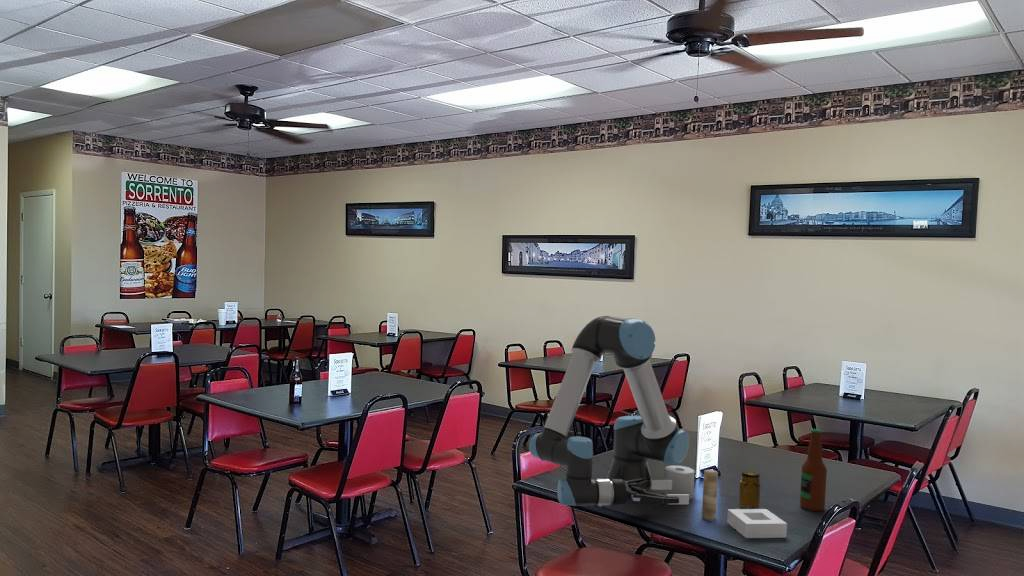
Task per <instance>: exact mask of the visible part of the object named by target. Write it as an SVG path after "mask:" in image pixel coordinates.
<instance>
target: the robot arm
mask: <svg viewBox="0 0 1024 576" xmlns="http://www.w3.org/2000/svg"><path fill="white" fill-rule="evenodd" d="M655 342H656V336H655V332H654V330H653V328H652V326H651V325H650V324H649V323H648V322H646V321H644V320H641V319H637V318H634V317H633V318H626V317H625V318H624V317H616V316H610V315H603V316H602V315H601V316H598V317H596V318H593V319H592V320H590V321H589V322H588V323H587V324H586V325H585V326H583V328H582V329H581V331H580V332H579V334H578V335H577V336H576V338H575V340H574V342H573V344H572V347H571V349H570V350H571V353H572V355H571V358H570V361H569V363H568V366H567V368H566V371H565V374H564V376H563V378H562V380H561V384H560V386H559V389H558V391H557V394H556V396H555V399H554V400H553V401H554V402H553V404H552V406H551V408H550V412H548V413H549V414H548V417H547V419H546V421H545V424H544V426H543V428H542V431H541V432H539V433H535V434H534V435H533V436H532V437H531V439H530V440H529V442H528V443H529V444H528V450H529V453H530V454H531V455H532V456H533V457H535V458H537V459H539V460H541V461H543V462H544V461H545V462H548V463H552V464H555V465H557V466H561V467H563V468H565V477H564V478H560V479H559V480H558V482H557V487H556V488H557V489H556V492H557V501H558V502H559V504H561V505H562V506H573V507H576V506H579V507H580V506H581V507H582V506H598V507H599V508H602V507H603V506H610V505H612V506H624V505H625V504H626V502H627V501H628V500H630V501H632V504H634V505H637V504H639V505H646V506H654V507H662V508H665V509H667V508H669V507H668V505H689V504H690V499H689V494H667V496H666V495H664V494H661V493H655V492H650V491H647V490H649V489H650V490H654V491H655V490H659V491H660V490H663V491H664V490H672V480H664V479H653V478H652V474H651V471H650V470H651V469H650V467H649V463H648V459H649V460H652V461H655V462H659V463H661V464H665V465H669V466H672V465H675V466H678V465H679V464H680V463H682V462H683V461H684V459H685V458H686V456H687V454H688V451H689V449H690V436H689V434H688V432H687V431H685V430H684V429H679V426H678V424H677V421H676V419H675V418H674V417H672V415H669V412H668V410H667V407H666V403H665V401H664V398H663V395H662V392H661V389H660V385H659V383H658V380H657V378H656V375H655V371H654V369H653V366H652V363H651V361H650V360H651V359H652V357H653V353H654V350H655V348H656V344H655ZM604 354H606V355H607V354H608V355H612V356H613V359H614V361H615V364H616V366H617V367H618V368H620V369H622V370H623V372H624V375H625V378H626V381H627V383H628V385H629V388H630V391H631V393H632V397H633V399H634V402H635V405H636V408H637V410H638V413H639V415H625V416H619V417H617V418H616V419H615V421H614V429H613V455H612V462H611V463H610V464H611V465H610V467H609V469H608V472H607V475H606V478H592V475H593V458H594V451H593V450H594V445H593V444H594V443H593V440H592V439H591V438H590V437H586V436H578V435H577V436H575V435H574V436H571V437H569V438H567V437H568V434H569V431H570V429H571V428H572V427H571V426H572V425H573V422H574V419H575V416H576V414H577V412H578V409H579V406H580V403H581V401H582V397H583V396H584V393H585V391H586V389H587V385H588V384H589V383H588V382H589V380H590V377H591V375H592V372H593V370H594V367H595V365H596V364H597V363H599V362H600V361H601V358H602V357H603V355H604Z"/></svg>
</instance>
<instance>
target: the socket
mask: <svg viewBox="0 0 1024 576" xmlns="http://www.w3.org/2000/svg"><path fill="white" fill-rule="evenodd" d="M728 523H729V524H730V527H732V528H733V529H734V530H735V529H736V531H737V532H738V533H739V534H740V535H741V536H743V537H744V538H745V539H769V538H770V539H771V538H772V539H773V538H774V539H775V538H777V539H778V538H780V539H781V538H783V539H785V538H787V529H788V523H787V522H786V521H784V520H783V519H782V518H780V517H779V516H777V515H776V514H774V513H772V512H771V511H769V509H766V508H759V509H738V508H731V509H729V508H728V509H727V517H726V524H728ZM729 524H728V525H729Z"/></svg>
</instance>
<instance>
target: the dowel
mask: <svg viewBox="0 0 1024 576" xmlns="http://www.w3.org/2000/svg"><path fill="white" fill-rule="evenodd" d="M718 477H719V472H718V471H717V470H714V469H705V470H703V486H702V487H703V488H702V504H701V506H702V507H701V508H702V509H701V519H703V520H705V521H715V520H716V519H717V518H716V517H717V515H716V514H717V497H718V479H719V478H718Z"/></svg>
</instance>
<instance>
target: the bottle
mask: <svg viewBox="0 0 1024 576" xmlns="http://www.w3.org/2000/svg"><path fill="white" fill-rule="evenodd" d="M822 431H823V430H821V429H817V428H811V429H810V432H811V433H810V441H809V443H808V448H807V458H806V460H805V461H804V462H803V464H802V466H801V477H800V493H799V494H800V495H799V496H800V497H799V498H800V499H799V505H800V506H801V508H803V509H804V510H807V511H811V512H822V511H824V509H825V507H826V491H827V490H826V489H827V474H828V473H827V471H828V469H827V467H826V465H825V463H824V461H823V444H822V439H821V438H822V433H823V432H822Z"/></svg>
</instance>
